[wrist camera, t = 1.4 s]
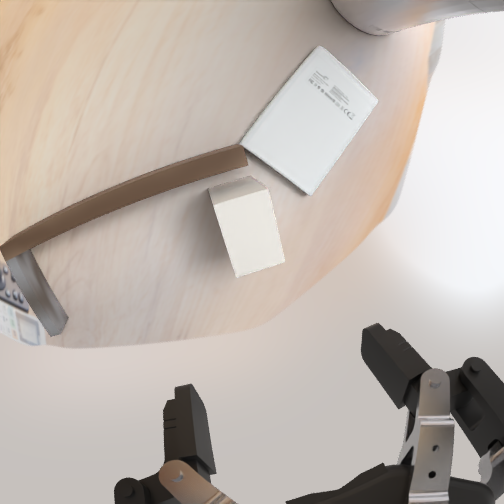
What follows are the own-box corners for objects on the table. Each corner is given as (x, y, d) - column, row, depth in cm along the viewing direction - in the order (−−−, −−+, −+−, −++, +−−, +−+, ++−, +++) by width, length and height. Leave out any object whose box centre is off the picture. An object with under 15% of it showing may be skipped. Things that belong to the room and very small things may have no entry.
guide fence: (13, 236, 21) (-1, 247, 18) (237, 144, 23) (243, 145, 20) (59, 320, 26) (50, 336, 23) (265, 254, 28) (274, 268, 25)
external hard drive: (237, 144, 24) (314, 48, 21) (305, 193, 27) (371, 102, 24) (240, 144, 22) (321, 44, 19) (311, 197, 25) (380, 101, 23)
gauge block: (207, 188, 24) (213, 205, 19) (250, 175, 25) (268, 188, 19) (226, 247, 27) (236, 278, 22) (266, 234, 27) (285, 261, 22)
